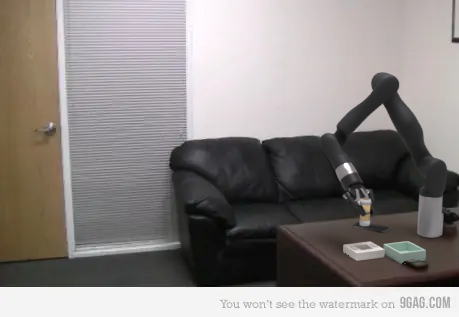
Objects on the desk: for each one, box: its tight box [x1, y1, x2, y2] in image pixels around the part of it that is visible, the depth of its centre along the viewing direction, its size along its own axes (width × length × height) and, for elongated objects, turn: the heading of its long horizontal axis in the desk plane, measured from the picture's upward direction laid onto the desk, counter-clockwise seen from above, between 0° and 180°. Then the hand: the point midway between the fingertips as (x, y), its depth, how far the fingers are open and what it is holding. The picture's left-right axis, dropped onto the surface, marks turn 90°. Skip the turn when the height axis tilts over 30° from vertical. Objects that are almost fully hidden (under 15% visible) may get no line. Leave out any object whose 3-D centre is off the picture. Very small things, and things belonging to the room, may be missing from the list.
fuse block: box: [342, 241, 385, 262], centre depth 218 cm, size 12×10×3 cm
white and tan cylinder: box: [359, 197, 371, 226], centre depth 216 cm, size 4×4×10 cm
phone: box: [352, 221, 391, 234], centre depth 251 cm, size 8×1×15 cm
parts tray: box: [383, 240, 427, 265], centre depth 215 cm, size 11×11×4 cm
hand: (368, 214), depth 214 cm, fingers closed on white and tan cylinder, 3 cm apart
